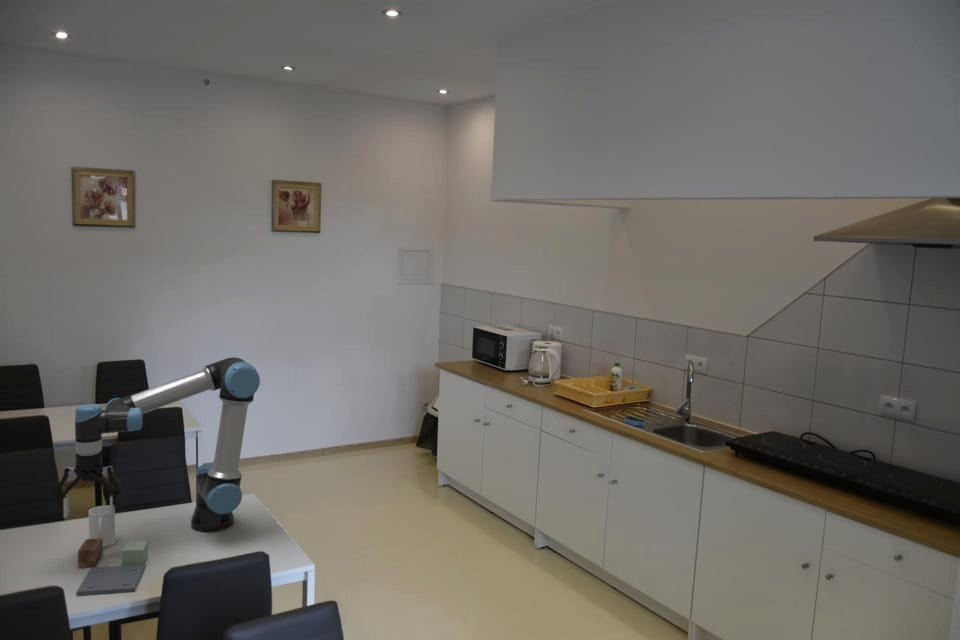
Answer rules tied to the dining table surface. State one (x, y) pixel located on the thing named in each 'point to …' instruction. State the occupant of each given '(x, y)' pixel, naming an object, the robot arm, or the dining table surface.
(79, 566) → the walnut brick
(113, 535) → the mug
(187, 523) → the dining table surface
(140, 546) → the sage brick
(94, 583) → the plate
